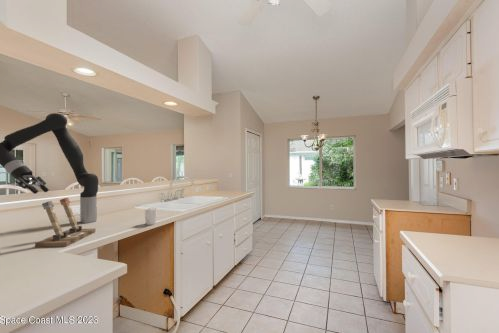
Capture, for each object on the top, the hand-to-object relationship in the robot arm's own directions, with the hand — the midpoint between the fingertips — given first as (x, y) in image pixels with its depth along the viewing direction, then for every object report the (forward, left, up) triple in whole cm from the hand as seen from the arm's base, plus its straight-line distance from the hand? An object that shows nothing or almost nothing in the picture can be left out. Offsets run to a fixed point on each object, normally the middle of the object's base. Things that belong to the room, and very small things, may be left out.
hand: (42, 191), depth 125 cm
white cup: (-23, +50, -25) cm, 61 cm away
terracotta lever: (0, +17, -21) cm, 27 cm away
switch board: (+6, +17, -24) cm, 30 cm away
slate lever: (+12, +17, -21) cm, 30 cm away
